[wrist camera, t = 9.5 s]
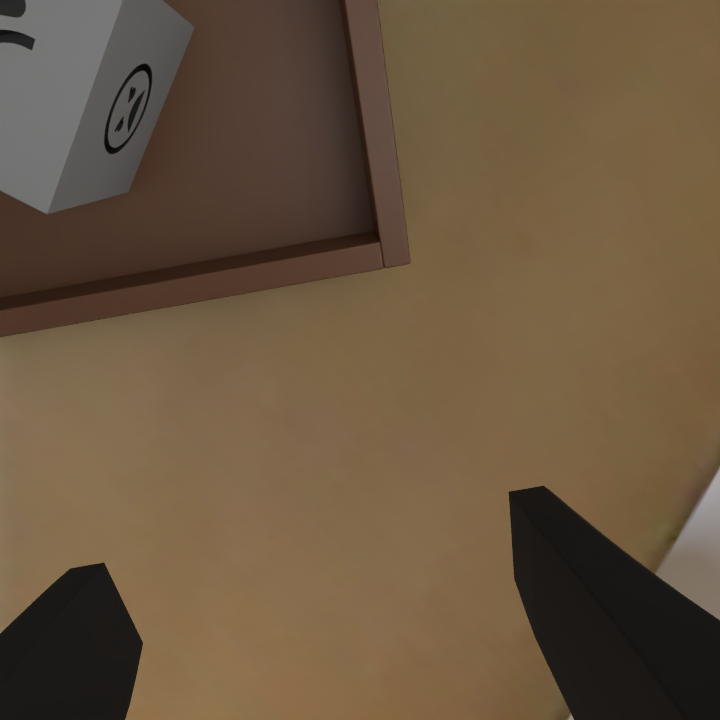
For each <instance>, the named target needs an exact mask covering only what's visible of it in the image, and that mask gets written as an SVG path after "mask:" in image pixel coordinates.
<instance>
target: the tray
mask: <svg viewBox="0 0 720 720" xmlns="http://www.w3.org/2000/svg"><path fill="white" fill-rule="evenodd" d="M163 1H164V2H165V3H167V4H168V5H169V6H170V7H171V8H173V9H174V10H175V11H176V12H177V13H178V14H180V15H181V16H182V17H183V18H184V19H186V20H187V21H188V22H189V23H190V24H191V25H193V26H194V27H195V28H194V31H193V33H192V36H191V38H190V41H189V43H188V45H187V48H186V50H185V53H184V55H183V58H182V60H181V63H180V65H179V68H178V70H177V73H176V75H175V78H174V80H173V83H172V85H171V88H170V90H169V93H168V95H167V98H166V100H165V103H164V105H163V107H162V110H161V112H160V115H159V117H158V120H157V122H156V125H155V127H154V130H153V132H152V135H151V137H150V140H149V142H148V145H147V147H146V150H145V152H144V155H143V157H142V160H141V162H140V165H139V167H138V169H137V172H136V174H135V177H134V179H133V182H132V184H131V187H130V189H129V192H127V193H124V194H120V195H116V196H113V197H109V198H105V199H102V200H98V201H94V202H90V203H87V204H83V205H79V206H76V207H72V208H68V209H65V210H61V211H57V212H54V213H50V214H46V213H44V212H42V211H40V210H38V209H36V208H34V207H32V206H30V205H28V204H26V203H24V202H22V201H20V200H18V199H16V198H14V197H12V196H10V195H8V194H6V193H4V192H2V191H0V337H5V336H10V335H16V334H21V333H27V332H32V331H38V330H44V329H49V328H55V327H60V326H66V325H72V324H77V323H83V322H88V321H94V320H99V319H105V318H111V317H116V316H122V315H127V314H133V313H138V312H144V311H150V310H155V309H161V308H166V307H172V306H178V305H183V304H189V303H194V302H200V301H205V300H211V299H217V298H222V297H228V296H233V295H239V294H245V293H250V292H256V291H261V290H267V289H272V288H278V287H284V286H289V285H295V284H300V283H306V282H311V281H317V280H323V279H328V278H334V277H339V276H345V275H351V274H356V273H362V272H367V271H373V270H378V269H383V268H390V267H395V266H401V265H407V264H410V263H411V261H410V253H409V245H408V237H407V230H406V222H405V214H404V206H403V198H402V191H401V183H400V175H399V167H398V159H397V152H396V144H395V136H394V128H393V120H392V113H391V105H390V97H389V89H388V81H387V74H386V66H385V58H384V50H383V43H382V35H381V27H380V19H379V11H378V4H377V0H163Z"/></svg>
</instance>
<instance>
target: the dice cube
mask: <svg viewBox="0 0 720 720" xmlns="http://www.w3.org/2000/svg"><path fill="white" fill-rule="evenodd" d="M194 28H195V27H194V26H193V25H191V24H190V23H189V22H188V21H187V20H186V19H184V18H183V17H182V16H181V15H180V14H178V13H177V12H176V11H175V10H174V9H173V8H171V7H170V6H169V5H168V4H167V3H165V2H164V1H163V0H0V191H2V192H4V193H6V194H8V195H10V196H12V197H14V198H16V199H18V200H20V201H22V202H24V203H26V204H28V205H30V206H32V207H34V208H36V209H38V210H40V211H42V212H44V213H46V214H50V213H54V212H57V211H61V210H65V209H68V208H72V207H76V206H79V205H83V204H87V203H90V202H94V201H98V200H102V199H105V198H109V197H113V196H116V195H120V194H124V193H127V192H129V189H130V187H131V184H132V182H133V179H134V177H135V174H136V172H137V169H138V167H139V165H140V162H141V160H142V157H143V155H144V152H145V150H146V147H147V145H148V142H149V140H150V137H151V135H152V132H153V130H154V127H155V125H156V122H157V120H158V117H159V115H160V112H161V110H162V107H163V105H164V103H165V100H166V98H167V95H168V93H169V90H170V88H171V85H172V83H173V80H174V78H175V75H176V73H177V70H178V68H179V65H180V63H181V60H182V58H183V55H184V53H185V50H186V48H187V45H188V43H189V41H190V38H191V36H192V33H193V31H194Z"/></svg>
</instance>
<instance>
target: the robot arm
mask: <svg viewBox="0 0 720 720" xmlns="http://www.w3.org/2000/svg"><path fill="white" fill-rule="evenodd" d="M509 501H510V517H511V533H512V549H513V565H514V579H515V582H516V585H517V588H518V591H519V593H520V596H521V599H522V602H523V605H524V608H525V611H526V613H527V616H528V619H529V622H530V624H531V627H532V630H533V633H534V636H535V638H536V640H537V642H538V644H539V647H540V649H541V651H542V653H543V655H544V657H545V659H546V661H547V664H548V666H549V668H550V670H551V672H552V674H553V676H554V678H555V680H556V683H557V685H558V687H559V689H560V691H561V693H562V695H563V697H564V699H565V701H566V704H567V706H568V708H569V710H570V712H571V714H572V716H573V718H574V720H720V620H718V619H717V618H715V617H714V616H713V615H711V614H710V613H708V612H707V611H705V610H704V609H702V608H701V607H700V606H698V605H697V604H695V603H694V602H692V601H691V600H689V599H688V598H687V597H685V596H684V595H682V594H681V593H680V592H678V591H677V590H675V589H674V588H673V587H671V586H670V585H669V584H667V583H666V582H664V581H663V580H662V579H660V578H659V577H658V576H656V575H655V574H654V573H652V572H651V571H650V570H648V569H647V568H646V567H645V566H643V565H642V564H641V563H639V562H638V561H637V560H635V559H634V558H633V557H631V556H630V555H629V554H627V553H626V552H625V551H623V550H622V549H621V548H620V547H618V546H617V545H616V544H615V543H613V542H612V541H611V540H609V539H608V538H607V537H606V536H604V535H603V534H602V533H601V532H600V531H598V530H597V529H596V528H595V527H593V526H592V525H591V524H590V523H588V522H587V521H586V520H585V519H584V518H582V517H581V516H580V515H579V514H578V513H576V512H575V511H574V510H573V509H572V508H570V507H569V506H568V505H567V504H566V503H564V502H563V501H562V500H561V499H560V498H558V497H557V496H556V495H555V494H554V493H552V492H551V491H550V490H549V489H547V488H546V487H545V486H540V487H534V488H528V489H522V490H517V491H511V492H509ZM142 645H143V642H142V640H141V638H140V636H139V634H138V632H137V630H136V628H135V626H134V623H133V621H132V619H131V617H130V615H129V613H128V611H127V609H126V607H125V605H124V603H123V601H122V599H121V597H120V594H119V592H118V590H117V588H116V586H115V584H114V582H113V580H112V578H111V576H110V574H109V572H108V570H107V568H106V566H105V563H100V564H94V565H88V566H82V567H77V568H71V569H69V570H68V571H67V572H66V573H65V574H64V575H62V576H61V577H60V578H59V579H58V580H57V581H56V582H54V583H53V584H52V585H51V586H50V587H49V588H48V589H47V590H46V591H45V592H44V593H42V594H41V595H40V596H39V597H38V598H37V599H36V600H35V601H34V602H33V603H32V604H31V605H30V606H29V607H28V608H27V609H26V610H25V611H24V612H22V613H21V614H20V615H19V616H18V617H17V618H16V619H15V620H14V621H13V622H12V623H11V624H10V625H9V626H8V627H7V628H6V629H5V630H4V631H3V632H2V633H1V634H0V720H125V718H126V715H127V712H128V709H129V705H130V701H131V697H132V692H133V688H134V684H135V680H136V675H137V670H138V665H139V660H140V655H141V650H142Z"/></svg>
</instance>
